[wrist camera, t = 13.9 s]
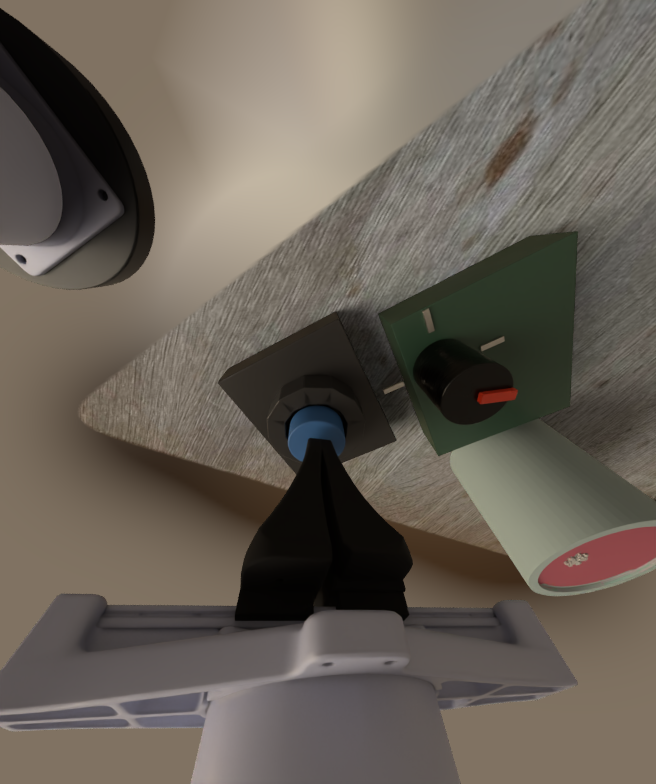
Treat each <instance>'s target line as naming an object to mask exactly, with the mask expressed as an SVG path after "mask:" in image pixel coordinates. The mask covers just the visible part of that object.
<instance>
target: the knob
mask: <svg viewBox="0 0 656 784" xmlns="http://www.w3.org/2000/svg"><path fill="white" fill-rule="evenodd" d="M413 377H414V380H415V382H416V383H417V385H418V386H419V387H420V388H421V389H422V391H423V392H424V393H425V394H426V395H427V397H428V398H429V399H430V400H431V401H432V403H433V404H434V405H435V406H436V407H437V409H438V410H439V411H440V412H441V413H442V415H443V416H444V417H445V418H446V419H447V420H449V421H450V422H452V423H455V424H459V425H471V424H476V423H480V422H482V421H485V420H487V419H489V418H490V417H492V416H493V415H495V414H496V413H497V412H499V411H500V410H501V409H502V408H503V407H504V406H505V404H506V403H507V402H508V401H509V400H515V398H516V395H517V393H518V390H517V389H515V388H513V387H514V380H513V376H512V374H511V372H510V371H509V370H508V369H507V368H506V367H504V366H503V365H501V364H499V363H497V362H496V361H494V360H492V359H490V358H489V357H487V356H485V355H483V354H481V353H480V352H478V351H476V350H474V349H473V348H471V347H469V346H467V345H465V344H464V343H462V342H460V341H458V340H455V339H443V340H439V341H436V342H434V343H432V344H430V345H429V346H427V347H426V348H425V349H424V350H423V351H422V352H421V353H420V354H419V356H418V357H417V359H416V361H415V363H414V367H413Z"/></svg>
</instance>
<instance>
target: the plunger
mask: <svg viewBox="0 0 656 784" xmlns="http://www.w3.org/2000/svg"><path fill="white" fill-rule="evenodd" d="M309 438H317V439H325V440H331V442H332V444H333V446H334V449H335V451H336V453H337V455H338V456H339V455H340V454H341V453H342V451H343V449H344V447H345V434H344V429H343V424H342V420H341V418H340V416H339V415H338V414H337V413H336V412H335V411H334V410H332V409H331V408H328V407H325V406H320V405H314V406H308V407H305V408H303V409H301V410H300V411H298V412H297V413H296V414H295V415H294V416H293V418H292V420H291V422H290V428H289V436H288V447H289V450H290V452H291V453H292V455H293V456H294V457H295V458H297V459H298V460H300V461H302V462H303V459H304V456H305V451H306V447H307V442H308V439H309Z"/></svg>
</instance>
